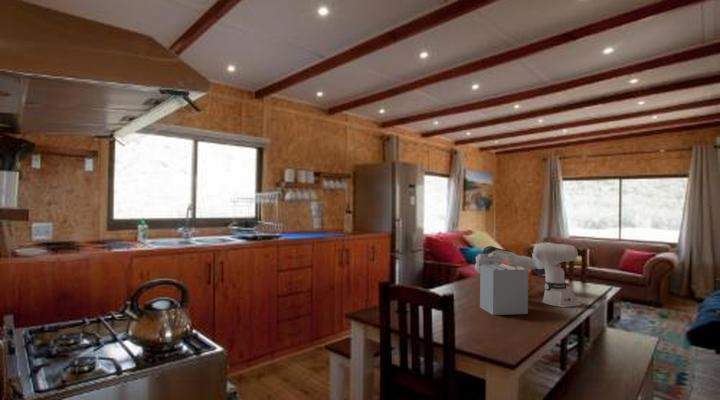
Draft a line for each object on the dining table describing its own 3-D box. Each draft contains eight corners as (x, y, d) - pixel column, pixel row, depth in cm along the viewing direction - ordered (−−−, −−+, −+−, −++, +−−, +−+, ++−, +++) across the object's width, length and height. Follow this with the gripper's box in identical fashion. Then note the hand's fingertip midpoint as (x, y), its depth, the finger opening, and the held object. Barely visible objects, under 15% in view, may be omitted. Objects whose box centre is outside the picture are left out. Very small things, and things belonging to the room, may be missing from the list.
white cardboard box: (512, 306, 236) (513, 263, 236) (527, 313, 220) (528, 268, 221) (479, 307, 233) (480, 264, 233) (492, 315, 217) (493, 268, 217)
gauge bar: (496, 255, 249) (496, 251, 249) (513, 260, 229) (513, 255, 229) (492, 255, 249) (492, 251, 249) (508, 260, 229) (508, 255, 229)
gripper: (503, 265, 257) (513, 257, 246) (475, 265, 254) (483, 258, 243) (500, 256, 261) (510, 248, 249) (473, 257, 257) (481, 249, 246)
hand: (497, 253), depth 246 cm, fingers closed on gauge bar, 3 cm apart
